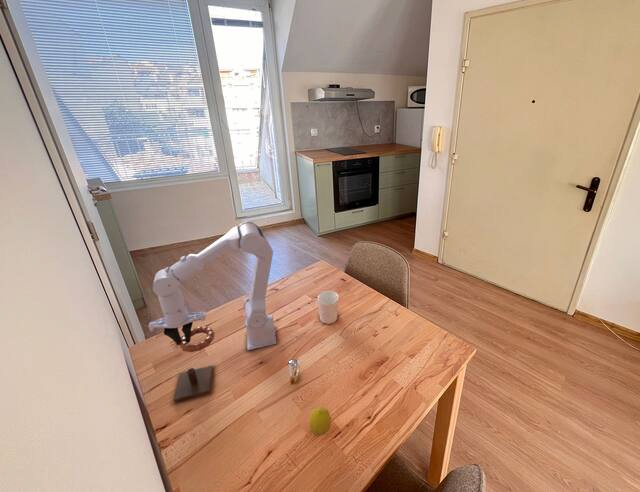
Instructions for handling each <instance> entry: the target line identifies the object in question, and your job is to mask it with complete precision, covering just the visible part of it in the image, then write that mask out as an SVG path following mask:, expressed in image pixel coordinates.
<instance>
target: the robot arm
mask: <svg viewBox="0 0 640 492" xmlns="http://www.w3.org/2000/svg"><path fill="white" fill-rule="evenodd" d="M241 250H242V251H243V252H245V253H248V254H250V255H254V256H255V257H254V264H253V272H252V278H251V286H250V290H249V294H247V298H246V300H245V301H244V303H243V310H244V313H245V319H244V324H245V328H246V335H247V336H246V337H247V339H246V340H247V341H246V345H247V347H246V348H247V349H246V350H247V351H251V350H255V349H260V348H264V347H267V346H273V345H276V344H277V338H276V334H277V330H276V328H275V321H274V315H273V314H267V313H266V311H267V307H266V305H267V304H266V295H267V291H268V285H269V279H270V273H271V267H272V261H273V255H274V250H273V248H272V246H271V244H270V243H269V241H268V239H267V237H266V235H265V234H264V232H263V230H262V228H261V227H260V226H258V225H257V224H256V223H255V222H253V221H247V220H246V221H243V222H241V223H239V225H238V226H234V227H232V228H231V229H230V230H229V231H228V232H227V233H225V234H224V235H223V236H222V237H220V238H218V239H217V240H216V241H214V242H213V243H212V244H210V245H209V246H207V247H205V249H203V250H201V251H200V252H199V253H197V254H196V253H190V254H188V255H183V256H181V257H180V260H178V261H177V262H175V263H174V264H173V265H171V266H167V267H165V268H162V269H160V270H159V271H157V272H156V273H155V275H154V278H153V279H154V280H153V283H152V291H153V293H154V294H156V295H157V297H158V302H159V305H160V308H161V311H162V313H163V317H162V318H158V319H156V320H152V321H150V322H149V323H148V329H149V332H154V331H155V330H157V329H163V335H164V336H166V337H168V338H170V339H171V340H172V341H173V342H175V344H176V345H177V346H180V341H181V338H182V337H181V334H180V331H179V328H180V327H182V328H181V332H182V333H183V336H184V335H185V337H186V341H187V343H188V344H189V343H191V339H192V337H191V330H192V329H193V323H194V322H197V321H201V322H205V321H206V318H207V315H206V313H205V312H206V311H199V312H198V311H188V309H187V306H186V303H185V298H184V295H183V291H182V290H181V287H180V286H181V285H182V284H184V283H186V282H187V281H189V280H190V279H191V278H193V277H194V276H196V275H197V274H199V273H201V272H202V271H203V270H204V267H205V265H206V264H208V263H210V262H211V261H213V260H215V259H216V258H218V257H220V256H221V255H223V254H225V253H227V252H229V251H232V252H237V253H241Z"/></svg>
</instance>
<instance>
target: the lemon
mask: <svg viewBox="0 0 640 492" xmlns="http://www.w3.org/2000/svg"><path fill="white" fill-rule="evenodd" d="M308 424H309V425H308V426H309V429H310V431H311V432H312V435H313V434H314V436H317V437H322V436H324V435H326V434H327V433H328V432H329V430H330V428H331V425H332V417H331V414H330V412H329V410H328V409H327V408H325V407H322V406H320V407H316V408H315V409H313V411H312V412H311V413H310V417H309V421H308Z"/></svg>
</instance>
